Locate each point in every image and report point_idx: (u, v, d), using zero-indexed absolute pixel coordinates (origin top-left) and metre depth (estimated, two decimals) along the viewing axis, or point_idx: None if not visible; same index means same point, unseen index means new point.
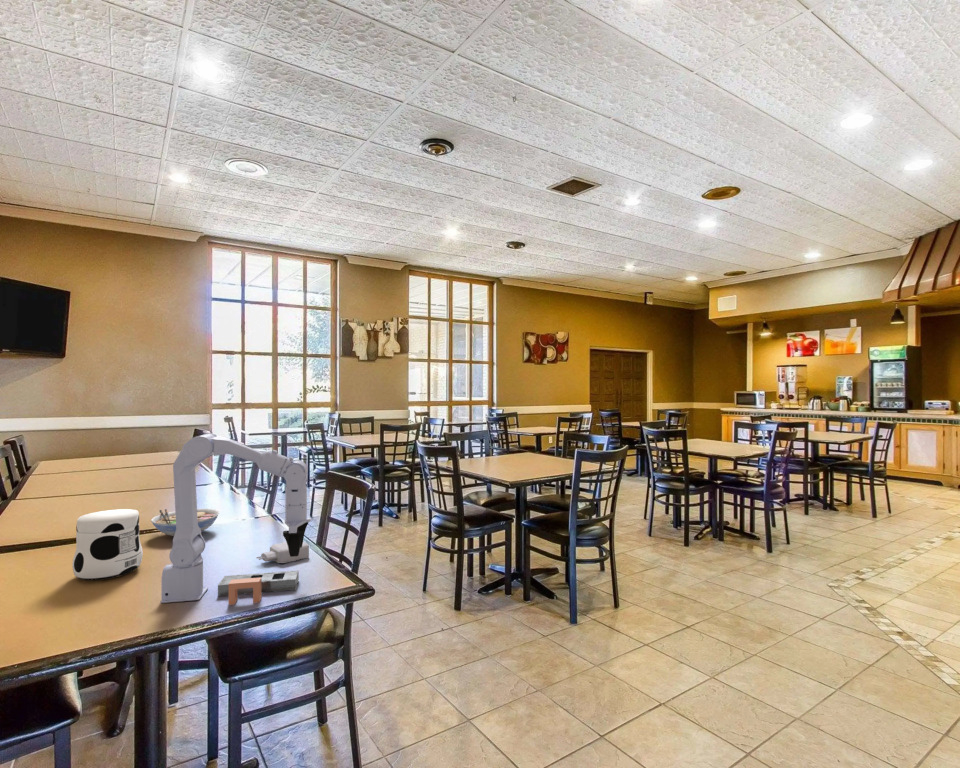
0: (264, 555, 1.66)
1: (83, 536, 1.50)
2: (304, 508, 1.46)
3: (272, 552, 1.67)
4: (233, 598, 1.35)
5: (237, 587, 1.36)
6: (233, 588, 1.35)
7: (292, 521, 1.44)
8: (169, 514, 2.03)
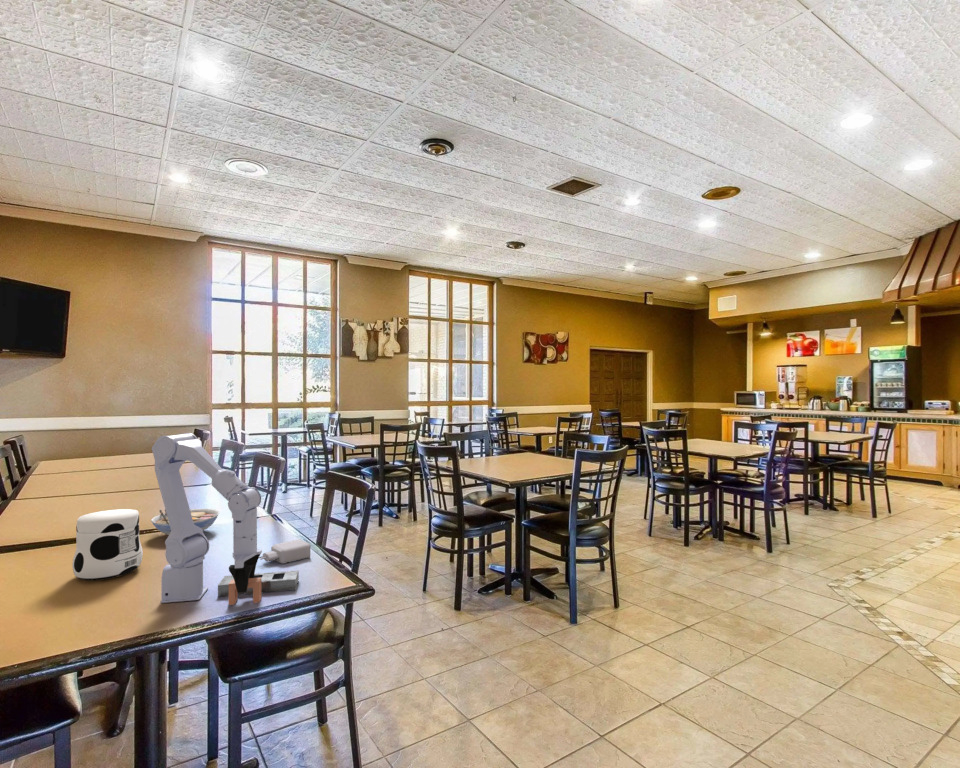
0: (266, 555, 1.66)
1: (83, 536, 1.50)
2: (254, 539, 1.36)
3: (274, 552, 1.68)
4: (233, 598, 1.35)
5: None
6: (233, 588, 1.35)
7: (240, 554, 1.34)
8: None
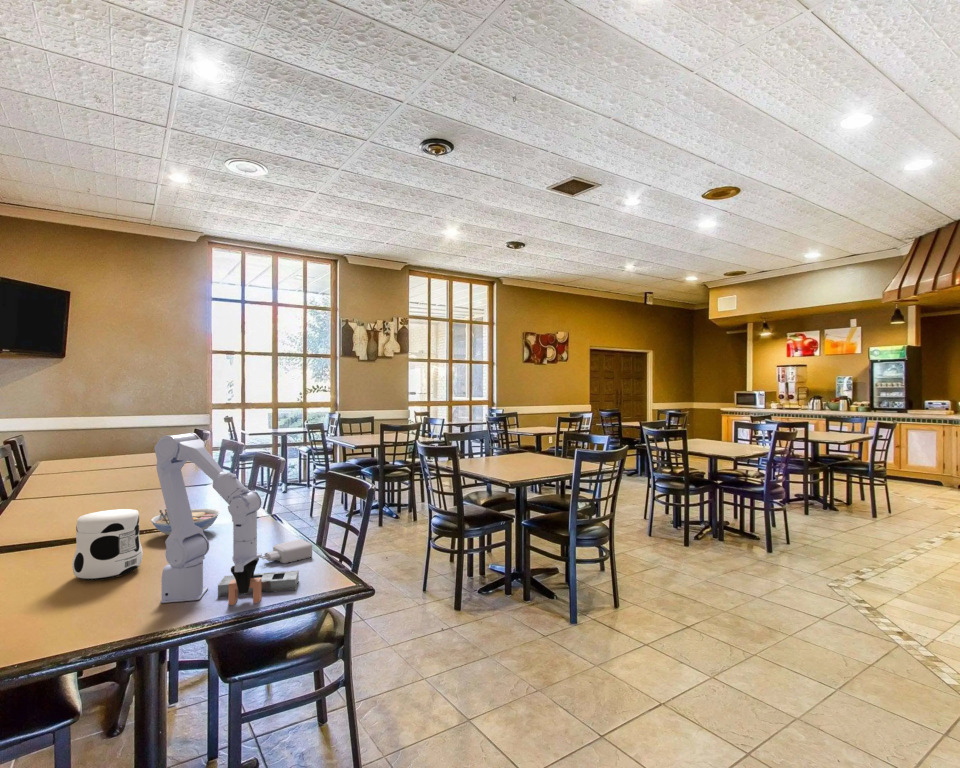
0: (268, 555, 1.66)
1: (83, 536, 1.50)
2: (253, 543, 1.36)
3: (275, 552, 1.68)
4: (233, 598, 1.35)
5: (237, 587, 1.36)
6: (233, 588, 1.35)
7: (240, 558, 1.34)
8: None
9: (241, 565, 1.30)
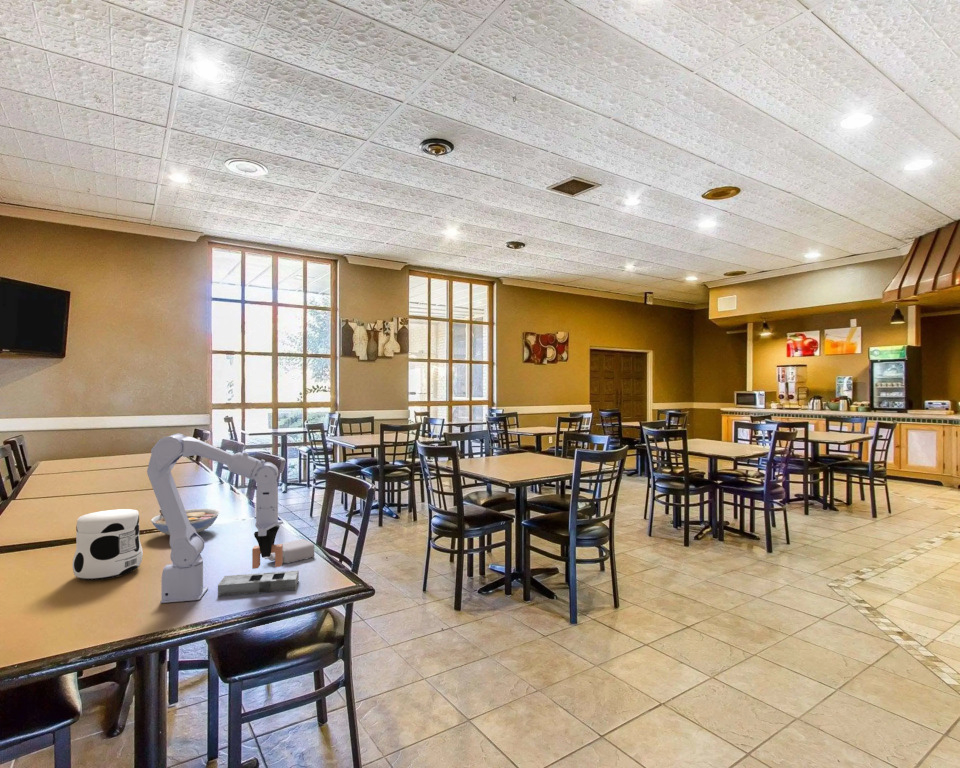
0: (270, 554, 1.66)
1: (83, 536, 1.50)
2: (275, 510, 1.46)
3: None
4: (256, 562, 1.44)
5: (260, 552, 1.45)
6: (256, 553, 1.44)
7: (262, 524, 1.44)
8: None
9: (264, 529, 1.40)
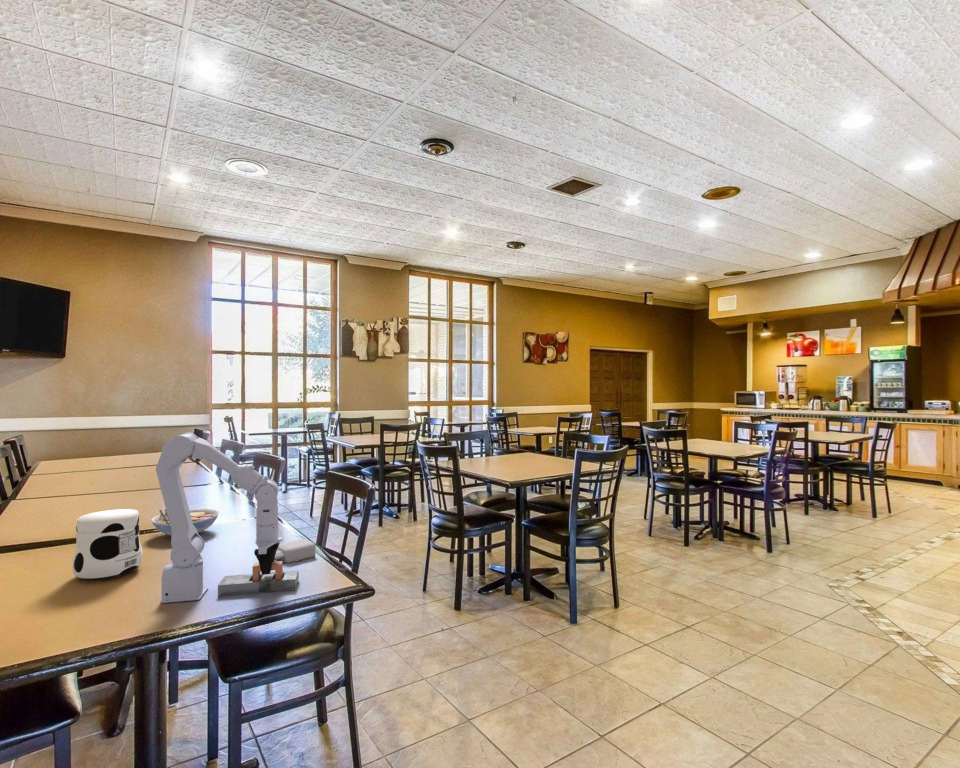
0: None
1: (83, 536, 1.50)
2: (275, 528, 1.46)
3: (279, 551, 1.68)
4: (257, 580, 1.44)
5: (260, 569, 1.45)
6: (257, 570, 1.45)
7: (262, 541, 1.44)
8: None
9: (264, 548, 1.40)
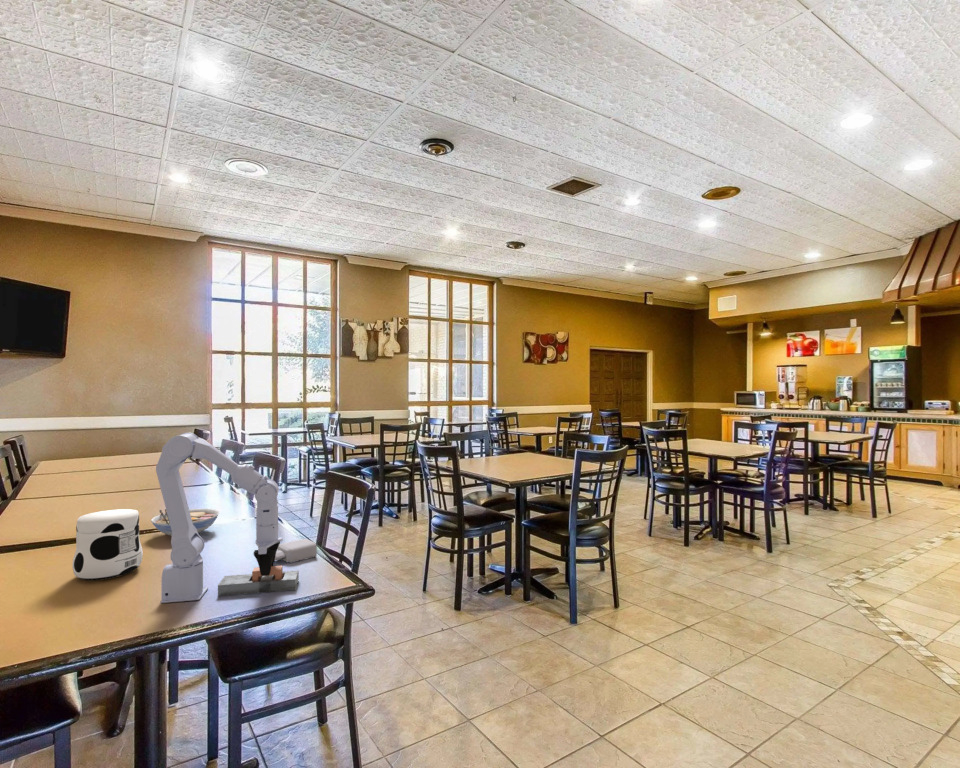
0: None
1: (83, 536, 1.50)
2: (275, 528, 1.46)
3: (280, 551, 1.68)
4: None
5: (260, 574, 1.45)
6: (256, 575, 1.44)
7: (263, 541, 1.44)
8: None
9: (264, 548, 1.40)
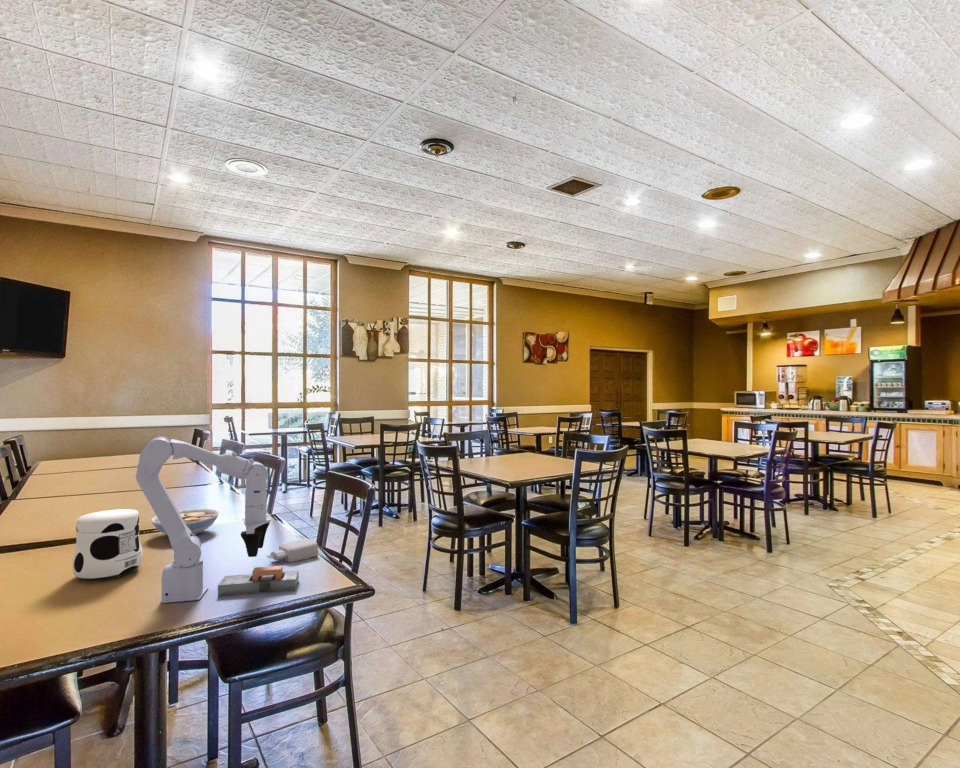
0: (274, 554, 1.67)
1: (83, 536, 1.50)
2: (263, 509, 1.48)
3: (282, 551, 1.69)
4: None
5: (260, 574, 1.45)
6: (256, 575, 1.44)
7: (251, 522, 1.46)
8: None
9: (252, 527, 1.42)
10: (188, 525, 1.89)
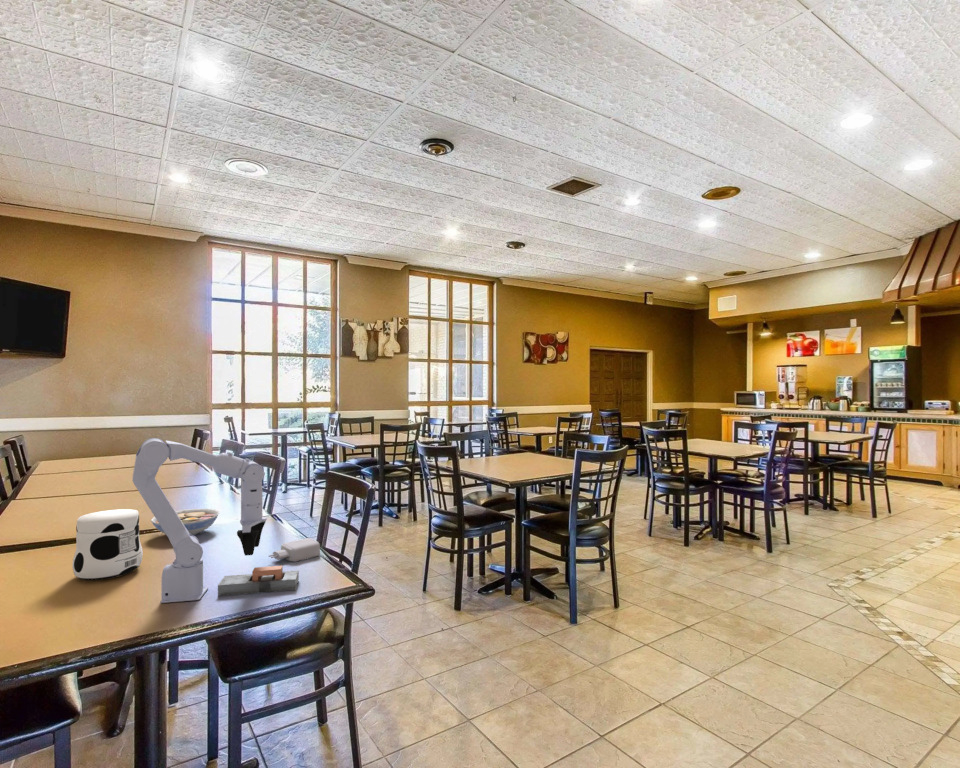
0: (276, 553, 1.68)
1: (83, 536, 1.50)
2: (259, 508, 1.49)
3: (284, 550, 1.69)
4: None
5: (260, 574, 1.45)
6: (256, 575, 1.44)
7: (247, 521, 1.47)
8: None
9: (248, 526, 1.43)
10: (188, 525, 1.89)
